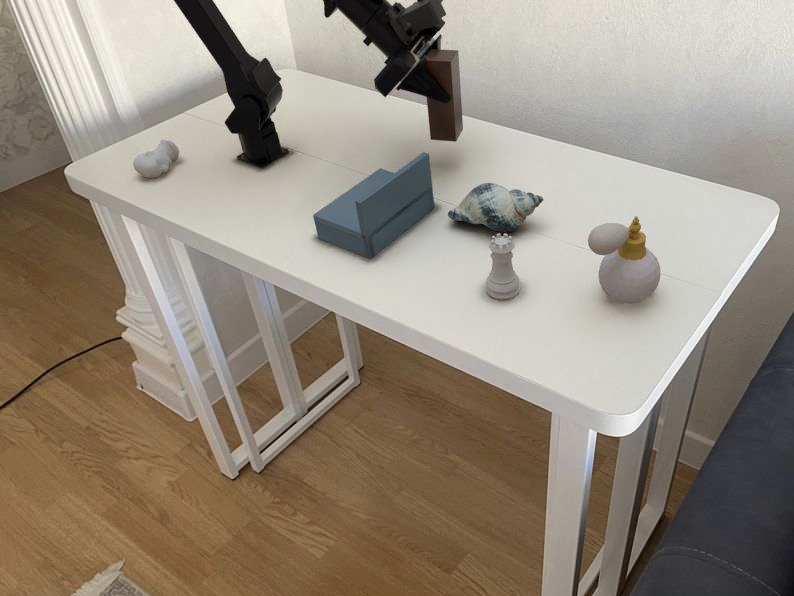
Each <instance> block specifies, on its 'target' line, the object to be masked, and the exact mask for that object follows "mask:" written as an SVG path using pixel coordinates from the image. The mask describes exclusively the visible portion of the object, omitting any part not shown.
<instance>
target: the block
mask: <svg viewBox="0 0 794 596" xmlns="http://www.w3.org/2000/svg"><path fill="white" fill-rule="evenodd" d="M426 59H427V67H428V70H429V71H430V73H431V74H432V75H433V76H434V77H435V79H436V80H437V81H438V82H439V84H440V85H441V86H442V87H443V88H444V90H445V91H446V92H447V94H448V95H449V96H450V101H449V102H448V103H446V104H445V103H442V102H439V101H437V100H434V99H431V98H428V97H426V105H427V117H428V125H429V126H428V127H429V128H428V129H429V137H430V141H440V142H441V141H442V142H454V143H457V141H458V139H459V138H460V136H461V134H462V132H463V131H464V123H463V122H464V120H463V106H462V105H463V103H462V88H461V74H460V72H461V71H460V56H459V50H458V49H441V50H439V49H431V50H430V52H429V53H428V54H427V56H426Z"/></svg>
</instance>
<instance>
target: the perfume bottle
mask: <svg viewBox="0 0 794 596" xmlns="http://www.w3.org/2000/svg"><path fill="white" fill-rule="evenodd" d="M641 229H642V224H641V223H640V219H639V217H638V216H634V218H633V219H632V221H631V223H630V224H629V226H628V227H627V226H626V225H624V224H621V223H619V222H606V223H602V224H599V225H598V226H595V227H594V228H593V229H592V230H591V231H590V233H588V238H587V243H588V247H589V249H590V250H591V252H593V253H594V254H596V255H598V256H603V258H602V260H601V262H600V264H599V269H598V282H599V285H600V288H601V289H602V291H603V293H604V294H605V295H606V296H607V297H608V298H610V299H611V300H612V301H613V302H616V303H620V304H625V305H634V304H639V303H641V302H643V301H645V300H647V299H649V298H650V297H651V296H652V295H653V294H654V293H655V291H656V290H657V288H658V286H659V283H660V280H661V275H662V274H661V273H662V272H661V265H660V262H659V260H658V257H657V256H656V255H655V254H654V253H653V252H652V251H651V250H650V249H648V247H646V241H647V235H646V234H645V233H644V232H643V231H640V230H641Z"/></svg>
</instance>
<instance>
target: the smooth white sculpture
mask: <svg viewBox="0 0 794 596" xmlns="http://www.w3.org/2000/svg"><path fill="white" fill-rule="evenodd" d="M179 156H180V150H179V147H178V146H177V145H176V144H175V142H173V141H172V140H170V139H161V140H160V141H159V144H158V146H157V147H156V148H155V149H153V150H151V151H150V150H149V151H148V150H147V151H146V152H145V153H141V154H139V155H137V156H136V157H135V158H134V159H133V162H132V165H133V169H134V170H135V172H137V174H139V175H140V176H142V177H144V178H147V179H148V178H149V179H154V178H159V177H160V176H161V175H162V174H163V173H166V172H168V171H169V170H170V167H171V166H172V164H173V162H175V161H177V160H178V159H179Z"/></svg>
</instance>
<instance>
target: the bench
mask: <svg viewBox="0 0 794 596" xmlns="http://www.w3.org/2000/svg"><path fill="white" fill-rule="evenodd" d="M430 159H431V158H430V153H429V152H426V151H423V152H421V153H420V154H419V155H417V156H416V157H415V158H414V159H412V160H410V161H408V162H407V163H406V164H405V165H403V166H402V167H400V168H399V169H398V170H397V171H395V172H393V171H390V170H388V169H384V168H382V167H381V168H378V169H377V170H376V171H374V172H373V173H371V174H369V175H368V176H367V177H365V178H364V179H362V180H361V181H360V182H358V183H357V184H355V185H354V186H352V187H351V188H350V189H348V190H347V191H345V192H344V193H342V194H341V195H339V196H338V197H336V198H335V199H334V200H332V201H330V202H329V203H328V204H327V205H325V206H324V207H322V208H321V209H319V210H318V211H317V212H315V213H313V214H312V217H313V221H314V225H315V230H316V236H317V238H318V239H319V240H321V241H324V242H327V243H329V244H332V245H334V246H336V247H339V248H341V249H345V250H347V251H349V252H352V253H354V254H357V255H359V256H363V257H365V258H368V259H370V260H371V259H373V258H374V257H375V256H376V255H378V254H379V253H380V252H382V251H383V250H385V248H386V247H387V246H389V245H390V244H392V243H393V242H394V241H395V240H396V239H398V238H399V237H401V235H403V234H404V233H405V232H406V231H408V230H409V229H410V228H411V227H413V226H414V225H415V224H416V223H418V222H419V221H420V220H421V219H423V218H424V217H425V216H426V215H427V214H429V213H430V212H431V211H433V210H434V209H435V199H434V197H435V196H434V189H433V179H432V169H431V168H432V167H431V160H430Z"/></svg>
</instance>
